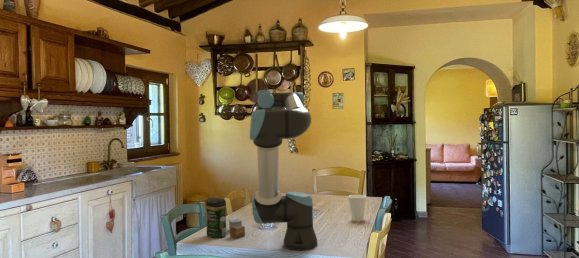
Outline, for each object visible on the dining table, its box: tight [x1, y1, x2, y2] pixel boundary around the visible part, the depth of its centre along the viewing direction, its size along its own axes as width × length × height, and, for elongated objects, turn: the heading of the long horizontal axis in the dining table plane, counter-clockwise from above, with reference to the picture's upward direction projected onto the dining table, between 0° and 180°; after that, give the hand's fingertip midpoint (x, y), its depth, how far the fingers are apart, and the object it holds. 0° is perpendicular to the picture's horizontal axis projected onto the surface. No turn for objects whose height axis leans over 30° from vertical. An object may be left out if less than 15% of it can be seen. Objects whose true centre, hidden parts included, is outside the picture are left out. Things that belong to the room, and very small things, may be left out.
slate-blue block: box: [228, 218, 243, 231], centre depth 204 cm, size 5×5×5 cm
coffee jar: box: [205, 197, 228, 239], centre depth 194 cm, size 10×8×19 cm
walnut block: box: [229, 225, 246, 240], centre depth 192 cm, size 5×5×5 cm
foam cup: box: [348, 194, 367, 222], centre depth 218 cm, size 10×9×13 cm
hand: (266, 167), depth 203 cm, fingers closed
